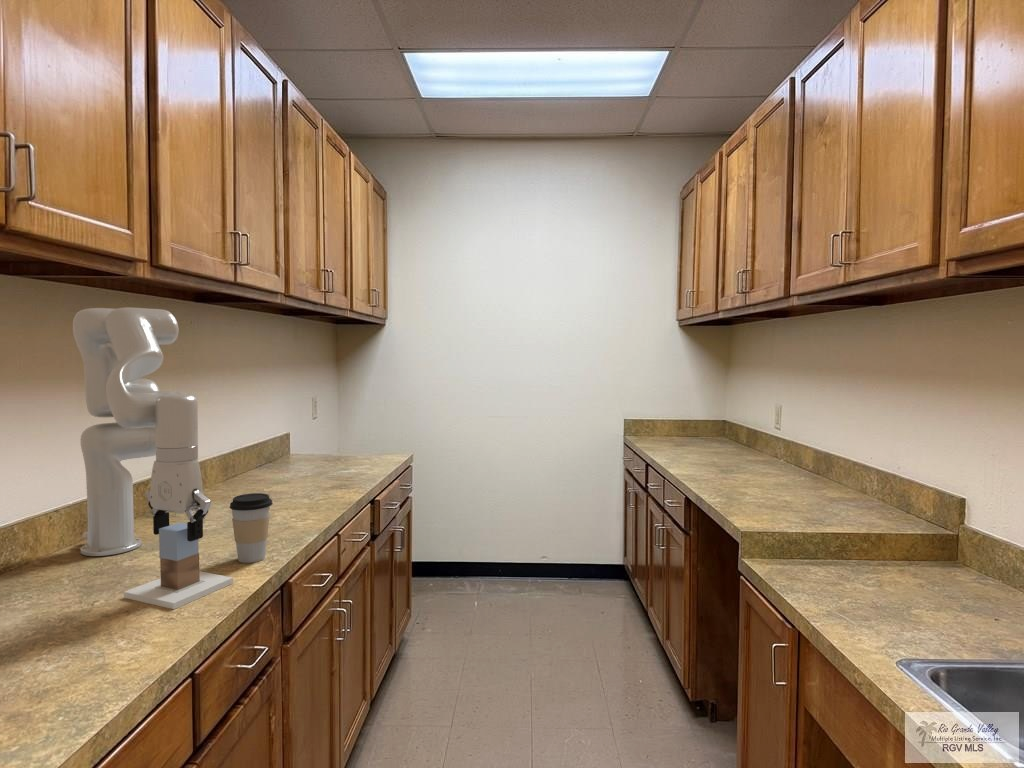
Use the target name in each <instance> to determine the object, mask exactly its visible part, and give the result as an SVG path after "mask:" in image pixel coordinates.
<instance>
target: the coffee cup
mask: <svg viewBox="0 0 1024 768" xmlns="http://www.w3.org/2000/svg"><path fill="white" fill-rule="evenodd" d="M272 505H273V499H271V498H270V495H269V494H267V493H261V492H260V493H259V492H258V493H256V492H253V493H245V494H240V495H237V496H234V497H233V498H232V501H231V502H230V504H229V509H230V510H231V514H232V528H233V536H234V542H235V545H236V553H237V554H236V555H237V561H238V562H239V563H243V564H251V563H257V562H260V561H262V560H264V559H265V558H266V552H267V551H266V550H267V549H266V548H267V540H268V536H269V528H270V527H269V526H270V515H271V514H270V509H271V508H270V507H272Z"/></svg>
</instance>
